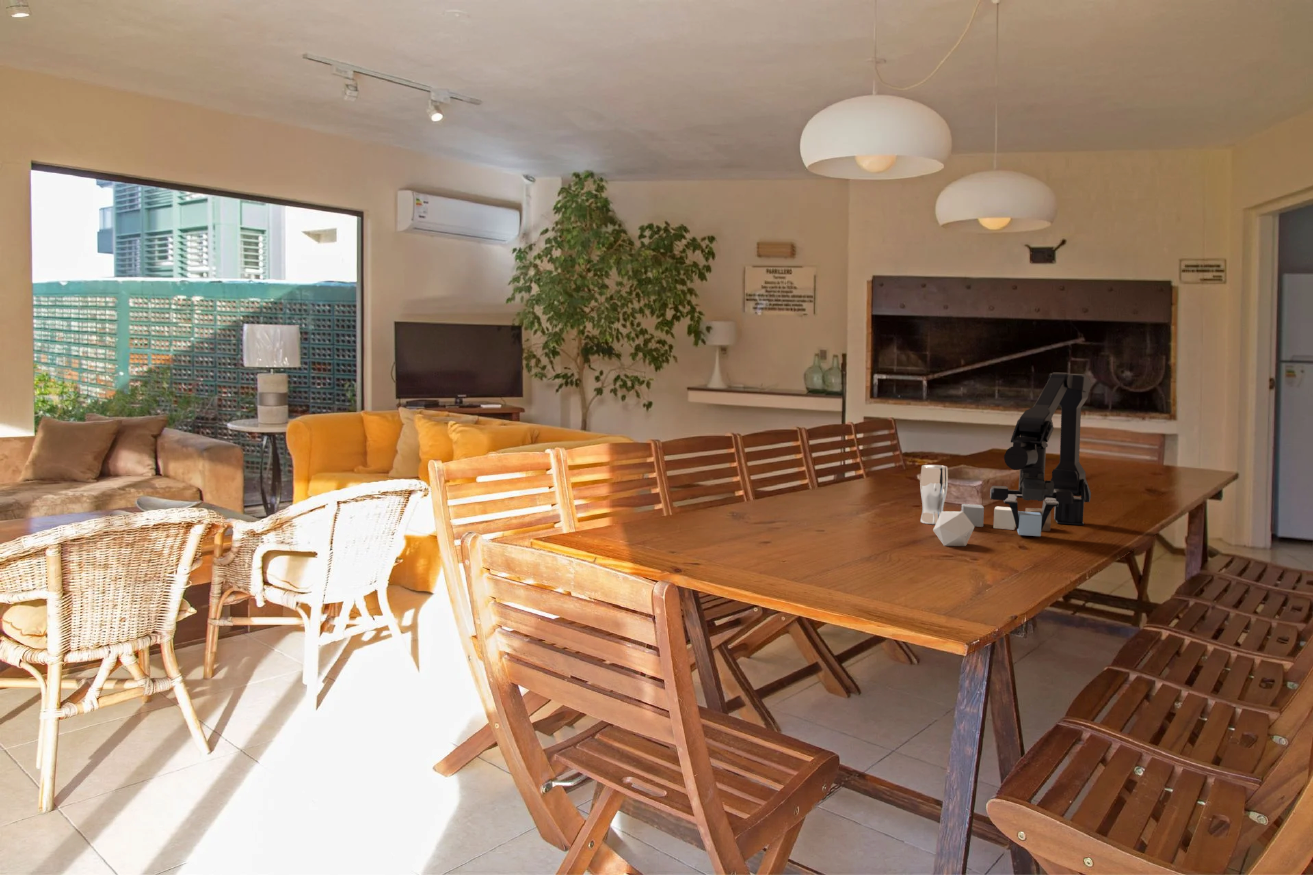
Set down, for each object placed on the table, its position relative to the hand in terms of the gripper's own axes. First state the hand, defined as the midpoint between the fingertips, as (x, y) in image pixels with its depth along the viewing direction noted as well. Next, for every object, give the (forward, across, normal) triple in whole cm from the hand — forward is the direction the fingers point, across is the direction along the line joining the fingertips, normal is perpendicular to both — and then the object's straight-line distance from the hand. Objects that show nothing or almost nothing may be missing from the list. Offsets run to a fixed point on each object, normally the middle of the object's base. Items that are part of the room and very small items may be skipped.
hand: (1029, 529), depth 233 cm
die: (+2, -18, -17) cm, 25 cm away
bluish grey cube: (+1, 0, 0) cm, 1 cm away
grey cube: (+2, -13, +12) cm, 18 cm away
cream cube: (+2, -5, +11) cm, 12 cm away
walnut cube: (+2, +3, +12) cm, 13 cm away
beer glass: (+2, -23, +11) cm, 26 cm away
